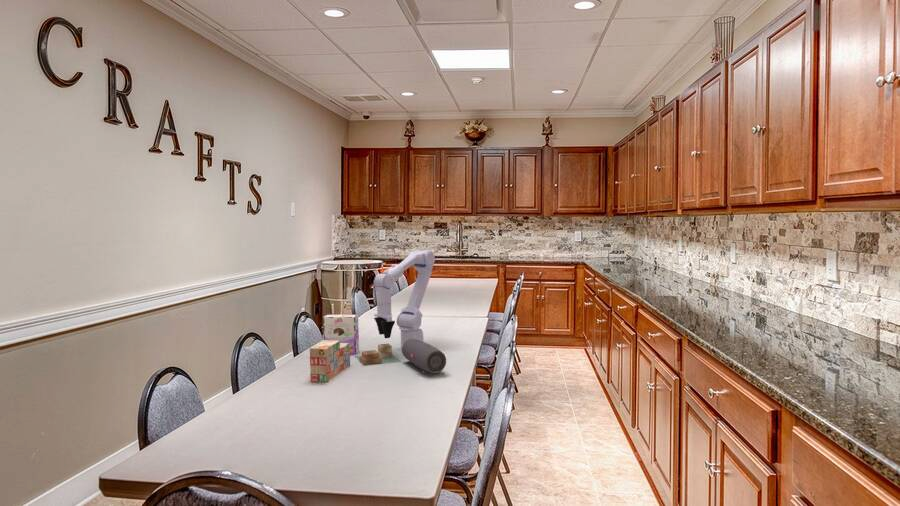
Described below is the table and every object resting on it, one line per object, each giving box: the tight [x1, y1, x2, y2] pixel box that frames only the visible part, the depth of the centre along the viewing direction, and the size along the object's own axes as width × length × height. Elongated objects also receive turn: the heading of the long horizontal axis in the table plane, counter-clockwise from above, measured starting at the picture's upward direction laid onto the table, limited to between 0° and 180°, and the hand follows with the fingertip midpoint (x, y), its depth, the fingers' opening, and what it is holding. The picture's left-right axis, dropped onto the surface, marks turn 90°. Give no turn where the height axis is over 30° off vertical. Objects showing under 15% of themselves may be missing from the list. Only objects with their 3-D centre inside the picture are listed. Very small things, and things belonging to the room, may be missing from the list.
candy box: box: [322, 314, 360, 356], centre depth 231 cm, size 14×6×16 cm, turn 84°
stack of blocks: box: [309, 339, 351, 383], centre depth 202 cm, size 21×6×12 cm, turn 168°
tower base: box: [359, 355, 382, 366], centre depth 216 cm, size 7×7×2 cm
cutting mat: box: [354, 354, 402, 367], centre depth 221 cm, size 15×16×1 cm
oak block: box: [377, 343, 393, 358], centre depth 225 cm, size 4×4×4 cm
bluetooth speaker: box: [401, 339, 447, 374], centre depth 207 cm, size 23×9×10 cm, turn 27°
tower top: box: [361, 349, 379, 360], centre depth 215 cm, size 6×6×2 cm
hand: (384, 336), depth 225 cm, fingers open, 7 cm apart
